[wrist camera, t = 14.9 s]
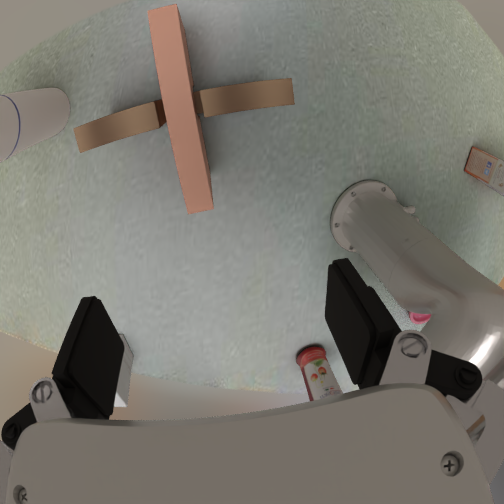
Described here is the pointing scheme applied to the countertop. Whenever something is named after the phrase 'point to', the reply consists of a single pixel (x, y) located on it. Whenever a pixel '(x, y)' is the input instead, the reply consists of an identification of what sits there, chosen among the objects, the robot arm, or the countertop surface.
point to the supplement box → (124, 377)
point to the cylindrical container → (31, 118)
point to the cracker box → (486, 169)
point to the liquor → (317, 374)
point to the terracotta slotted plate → (181, 107)
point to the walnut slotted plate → (206, 102)
